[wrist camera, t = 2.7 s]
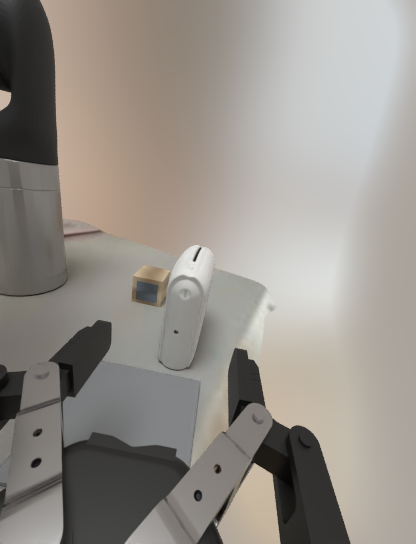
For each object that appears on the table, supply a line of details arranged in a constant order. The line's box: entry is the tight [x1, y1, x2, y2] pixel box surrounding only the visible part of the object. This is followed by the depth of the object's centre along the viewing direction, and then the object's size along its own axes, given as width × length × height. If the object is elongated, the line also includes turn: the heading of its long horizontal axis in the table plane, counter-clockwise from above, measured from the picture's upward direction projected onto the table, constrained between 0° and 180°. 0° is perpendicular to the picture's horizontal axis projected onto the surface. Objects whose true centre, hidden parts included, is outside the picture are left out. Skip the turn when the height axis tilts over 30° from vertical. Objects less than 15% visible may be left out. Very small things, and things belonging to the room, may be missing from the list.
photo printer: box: [159, 245, 215, 370], centre depth 26 cm, size 10×4×12 cm, turn 174°
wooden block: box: [132, 265, 170, 307], centre depth 35 cm, size 4×5×4 cm
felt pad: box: [0, 361, 200, 487], centre depth 18 cm, size 12×10×1 cm
